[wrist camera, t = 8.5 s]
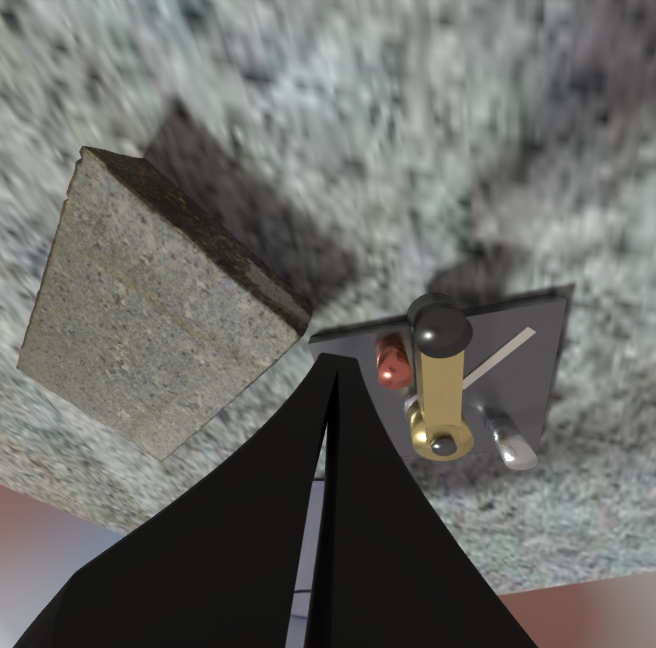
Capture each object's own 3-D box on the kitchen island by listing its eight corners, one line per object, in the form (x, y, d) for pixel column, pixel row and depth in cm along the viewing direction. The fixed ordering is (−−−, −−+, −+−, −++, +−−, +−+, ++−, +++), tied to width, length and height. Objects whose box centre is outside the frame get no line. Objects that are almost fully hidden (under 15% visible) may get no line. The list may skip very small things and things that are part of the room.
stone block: (318, 304, 18) (304, 342, 13) (196, 417, 26) (162, 464, 22) (149, 147, 14) (51, 126, 10) (71, 337, 22) (0, 373, 18)
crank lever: (460, 430, 19) (474, 466, 17) (408, 432, 20) (415, 466, 18) (466, 286, 14) (490, 308, 11) (395, 297, 15) (402, 320, 12)
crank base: (351, 449, 25) (350, 492, 21) (310, 336, 18) (298, 370, 15) (530, 439, 21) (564, 488, 18) (554, 293, 15) (614, 325, 11)
